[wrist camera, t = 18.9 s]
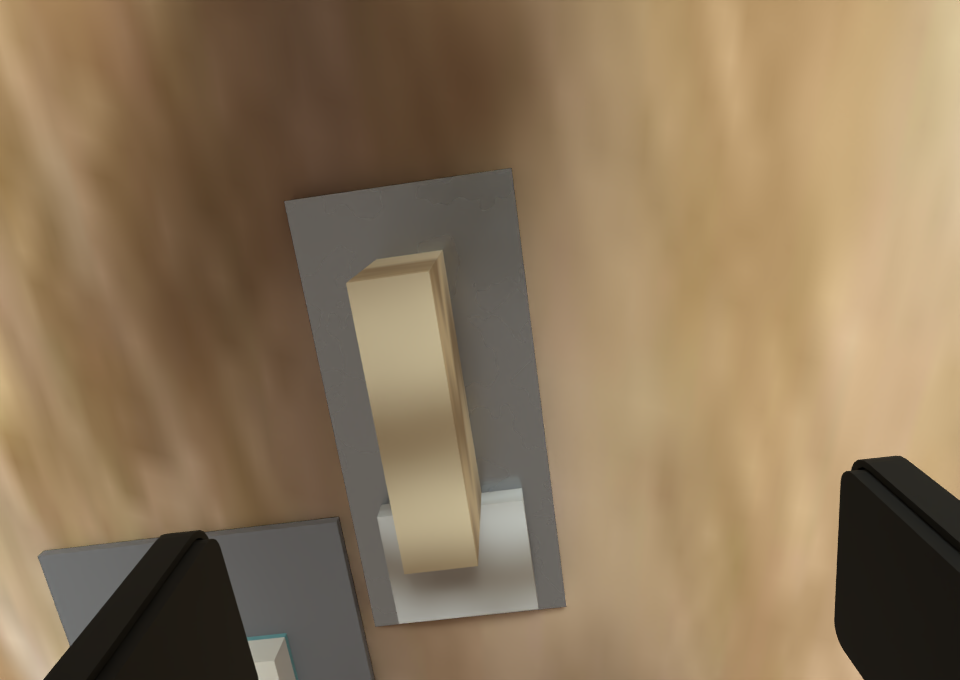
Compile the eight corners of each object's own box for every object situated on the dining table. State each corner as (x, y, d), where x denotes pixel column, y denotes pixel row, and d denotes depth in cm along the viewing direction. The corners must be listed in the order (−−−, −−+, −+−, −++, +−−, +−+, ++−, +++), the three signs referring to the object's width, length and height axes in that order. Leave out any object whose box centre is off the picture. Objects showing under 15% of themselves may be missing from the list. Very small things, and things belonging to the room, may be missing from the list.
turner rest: (291, 200, 29) (283, 201, 28) (510, 167, 29) (511, 168, 28) (378, 613, 35) (375, 626, 34) (564, 594, 34) (566, 606, 33)
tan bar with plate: (332, 265, 29) (291, 290, 23) (487, 243, 29) (485, 263, 23) (402, 608, 34) (382, 700, 28) (536, 593, 33) (545, 684, 27)
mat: (44, 550, 34) (37, 556, 34) (338, 516, 33) (336, 522, 33) (137, 812, 39) (132, 820, 39) (398, 789, 38) (397, 797, 38)
